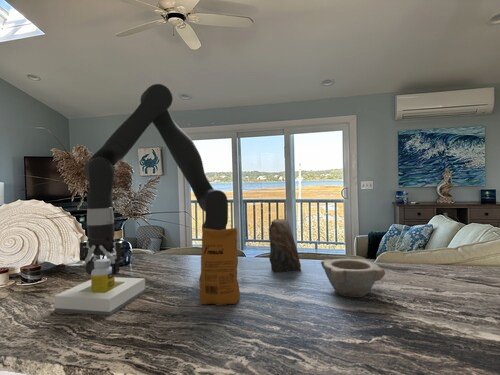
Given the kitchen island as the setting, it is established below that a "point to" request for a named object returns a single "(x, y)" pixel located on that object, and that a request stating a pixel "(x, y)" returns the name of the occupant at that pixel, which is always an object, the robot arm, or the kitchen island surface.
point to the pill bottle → (102, 276)
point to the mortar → (352, 275)
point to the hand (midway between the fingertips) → (103, 274)
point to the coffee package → (219, 267)
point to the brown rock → (283, 248)
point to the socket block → (99, 297)
